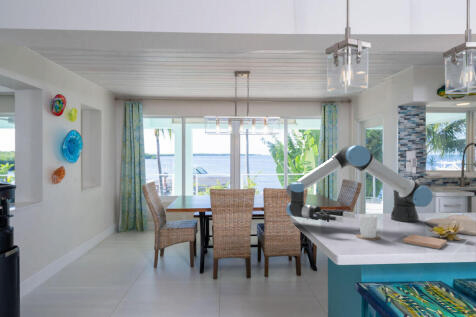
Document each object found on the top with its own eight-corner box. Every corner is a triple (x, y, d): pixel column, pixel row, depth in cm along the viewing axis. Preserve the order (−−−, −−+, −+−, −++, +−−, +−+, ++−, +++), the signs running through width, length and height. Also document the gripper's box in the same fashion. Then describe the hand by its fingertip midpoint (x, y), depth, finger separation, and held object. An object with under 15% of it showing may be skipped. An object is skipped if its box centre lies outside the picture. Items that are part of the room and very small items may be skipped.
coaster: (362, 233, 158) (362, 232, 157) (384, 237, 150) (384, 236, 150) (351, 237, 150) (351, 236, 150) (375, 242, 142) (375, 241, 142)
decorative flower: (422, 230, 158) (427, 211, 156) (445, 236, 156) (451, 217, 155) (436, 240, 143) (442, 219, 142) (462, 246, 141) (469, 226, 140)
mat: (404, 236, 153) (404, 235, 153) (445, 242, 141) (445, 241, 141) (392, 242, 142) (392, 241, 142) (435, 250, 130) (435, 249, 130)
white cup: (366, 239, 145) (366, 217, 145) (355, 235, 152) (355, 214, 152) (381, 237, 147) (380, 216, 147) (369, 234, 155) (369, 213, 155)
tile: (411, 234, 148) (446, 240, 138) (412, 237, 148) (446, 243, 138) (403, 239, 140) (439, 245, 130) (403, 242, 140) (439, 249, 130)
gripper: (324, 216, 181) (360, 221, 165) (298, 222, 163) (336, 229, 148) (324, 203, 181) (360, 207, 165) (298, 208, 163) (336, 213, 148)
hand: (349, 217), depth 157 cm, fingers open, 13 cm apart
